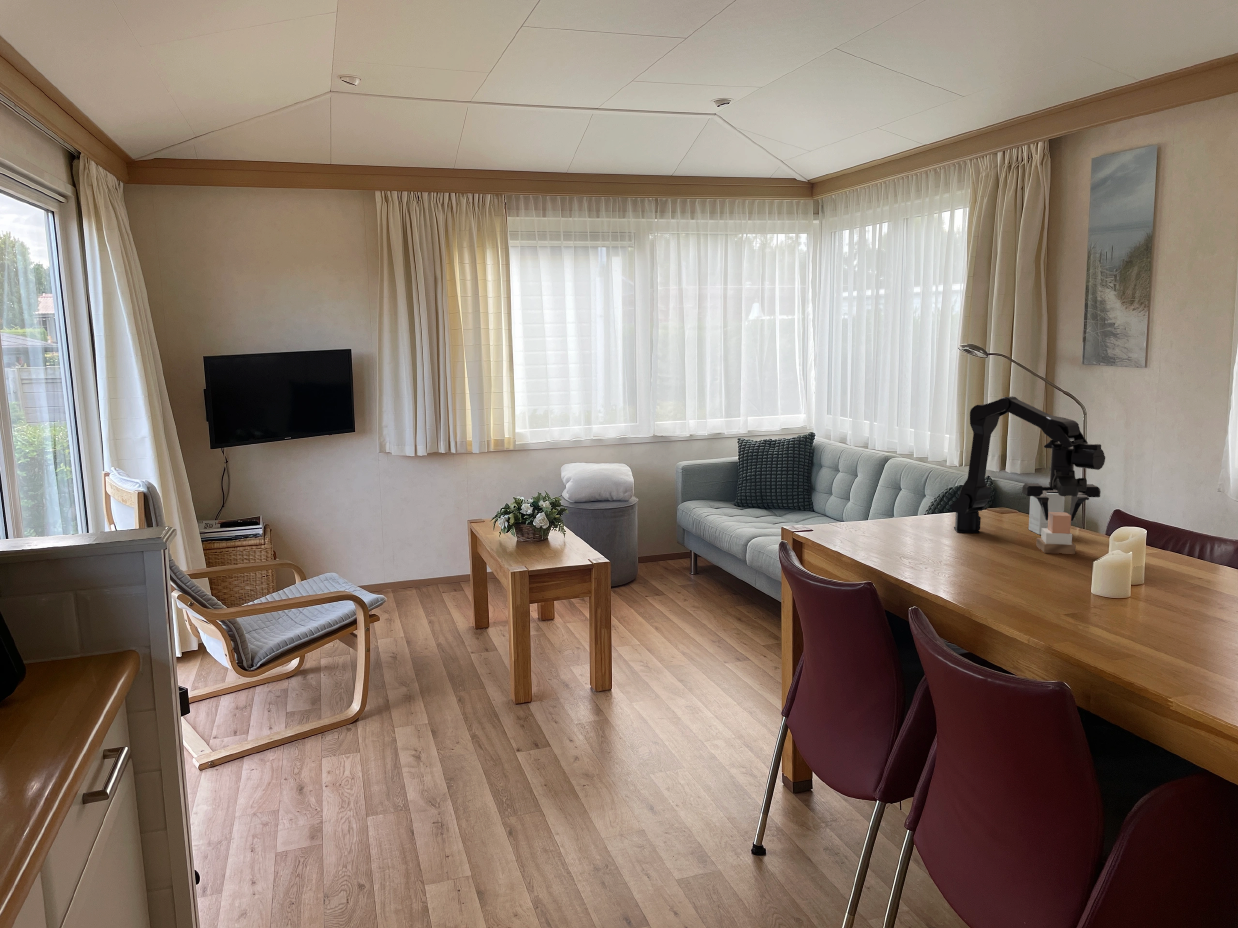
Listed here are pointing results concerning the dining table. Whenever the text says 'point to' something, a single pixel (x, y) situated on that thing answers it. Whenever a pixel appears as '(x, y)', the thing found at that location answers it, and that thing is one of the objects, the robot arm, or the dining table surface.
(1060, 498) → the supplement box
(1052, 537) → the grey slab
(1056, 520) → the terracotta block
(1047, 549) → the walnut slab
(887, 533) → the dining table surface
